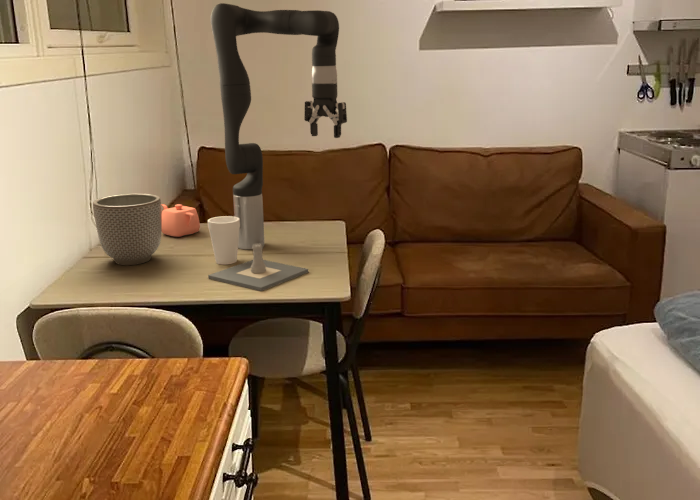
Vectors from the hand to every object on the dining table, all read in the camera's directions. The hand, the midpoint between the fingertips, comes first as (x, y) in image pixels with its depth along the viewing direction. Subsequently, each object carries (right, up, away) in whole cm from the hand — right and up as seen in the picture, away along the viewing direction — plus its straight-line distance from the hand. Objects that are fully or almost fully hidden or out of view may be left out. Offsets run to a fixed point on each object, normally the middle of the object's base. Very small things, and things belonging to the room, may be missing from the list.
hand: (325, 136), depth 220 cm
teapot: (-53, -28, +36) cm, 70 cm away
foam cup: (-30, -38, +2) cm, 48 cm away
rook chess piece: (-19, -40, -13) cm, 46 cm away
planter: (-59, -38, +4) cm, 70 cm away
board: (-19, -41, -13) cm, 47 cm away
